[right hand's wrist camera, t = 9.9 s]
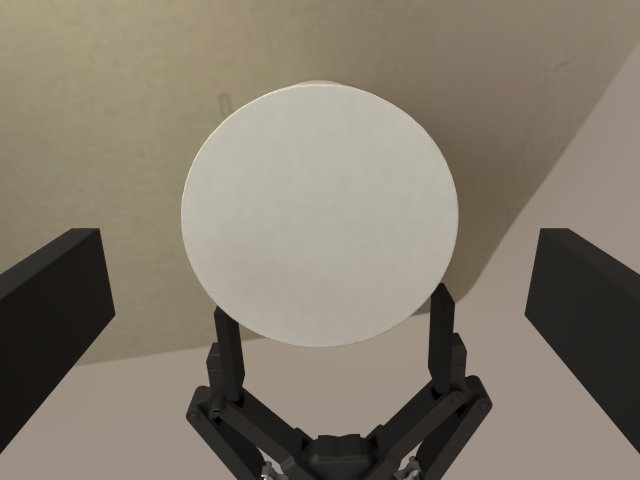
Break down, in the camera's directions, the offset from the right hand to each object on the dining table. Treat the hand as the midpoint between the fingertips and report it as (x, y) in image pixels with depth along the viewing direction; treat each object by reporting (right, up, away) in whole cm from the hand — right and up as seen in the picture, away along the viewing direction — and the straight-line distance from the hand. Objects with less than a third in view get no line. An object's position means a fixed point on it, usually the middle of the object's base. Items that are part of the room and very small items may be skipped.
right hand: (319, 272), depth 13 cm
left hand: (+1, -3, +15) cm, 15 cm away
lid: (0, +1, +4) cm, 4 cm away
